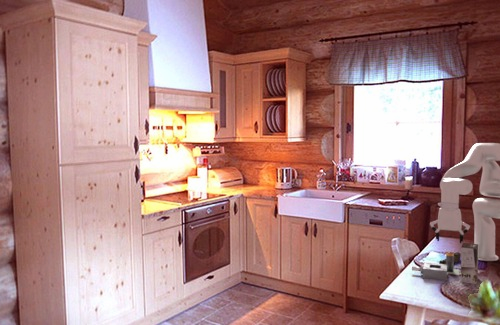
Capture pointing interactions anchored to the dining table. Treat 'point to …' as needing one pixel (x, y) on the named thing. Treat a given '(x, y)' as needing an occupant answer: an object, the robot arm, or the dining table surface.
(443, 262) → the hand tool
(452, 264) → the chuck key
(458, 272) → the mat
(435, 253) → the dining table surface
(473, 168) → the robot arm
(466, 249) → the coffee box
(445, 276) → the chuck
